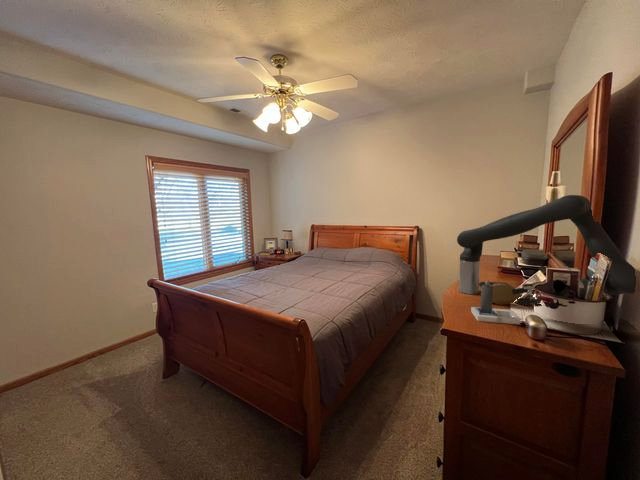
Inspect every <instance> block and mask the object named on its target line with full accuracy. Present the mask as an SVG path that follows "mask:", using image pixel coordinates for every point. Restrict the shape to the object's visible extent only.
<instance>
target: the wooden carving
mask: <svg viewBox="0 0 640 480" xmlns="http://www.w3.org/2000/svg"><path fill="white" fill-rule="evenodd" d="M505 283H506V282H503V283H495V284H489V286H492V287H493V299H492V304H495V305H509V304H514V303H513V302H514V301H515V300H516V299H518V298H519V297H521V296H522V295H523V293H522V294H513V293H512V289H516V288H515V286H514V285H512V284H509V283H507V284H505ZM508 284H509V285H508Z"/></svg>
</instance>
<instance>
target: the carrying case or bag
mask: <svg viewBox="0 0 640 480" xmlns="http://www.w3.org/2000/svg"><path fill="white" fill-rule="evenodd" d="M495 283H505V284H508V285H510V284H509V283H507V282H501V281H500V282H499V281H498V282H497V281H490V282H489V284H495ZM482 285H485V281H479V287H482Z"/></svg>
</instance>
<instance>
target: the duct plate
mask: <svg viewBox="0 0 640 480" xmlns="http://www.w3.org/2000/svg"><path fill="white" fill-rule="evenodd" d="M470 308H471V309H470V313H472V315H473V317H474V318H475V319H476V321H477V322H486V323H487V322H488V323H499V324H511V325H521V324H520V323H519V322H518V321H520V320H523V318H522V317H520V315H518V314H517V313H516V312H515V311H514V310H512V309H505V308H493V307H492V314H488V313H480V309H481V307H476V306H471V307H470ZM512 316H514V317H512Z"/></svg>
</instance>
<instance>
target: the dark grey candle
mask: <svg viewBox="0 0 640 480" xmlns="http://www.w3.org/2000/svg"><path fill="white" fill-rule="evenodd" d="M484 282H485V285H482V287H481V286H480V287H481V289H480V292H481V293H480V308H481V309H480V313H488V314H492V308H493V302H492V299H493V287H492V286H489V282H491V281H490V280H485V281H484Z"/></svg>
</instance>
